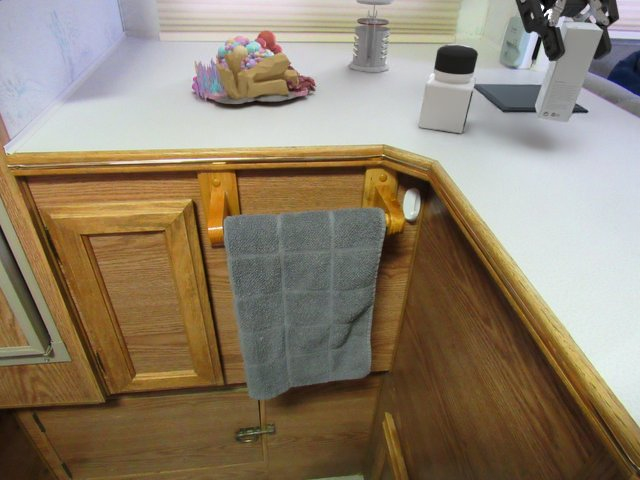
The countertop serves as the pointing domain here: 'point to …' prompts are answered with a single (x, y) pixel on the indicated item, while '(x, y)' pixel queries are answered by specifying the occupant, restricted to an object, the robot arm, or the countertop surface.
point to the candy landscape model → (250, 73)
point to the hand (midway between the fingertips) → (580, 56)
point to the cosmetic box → (568, 71)
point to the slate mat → (515, 97)
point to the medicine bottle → (449, 89)
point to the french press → (371, 41)
